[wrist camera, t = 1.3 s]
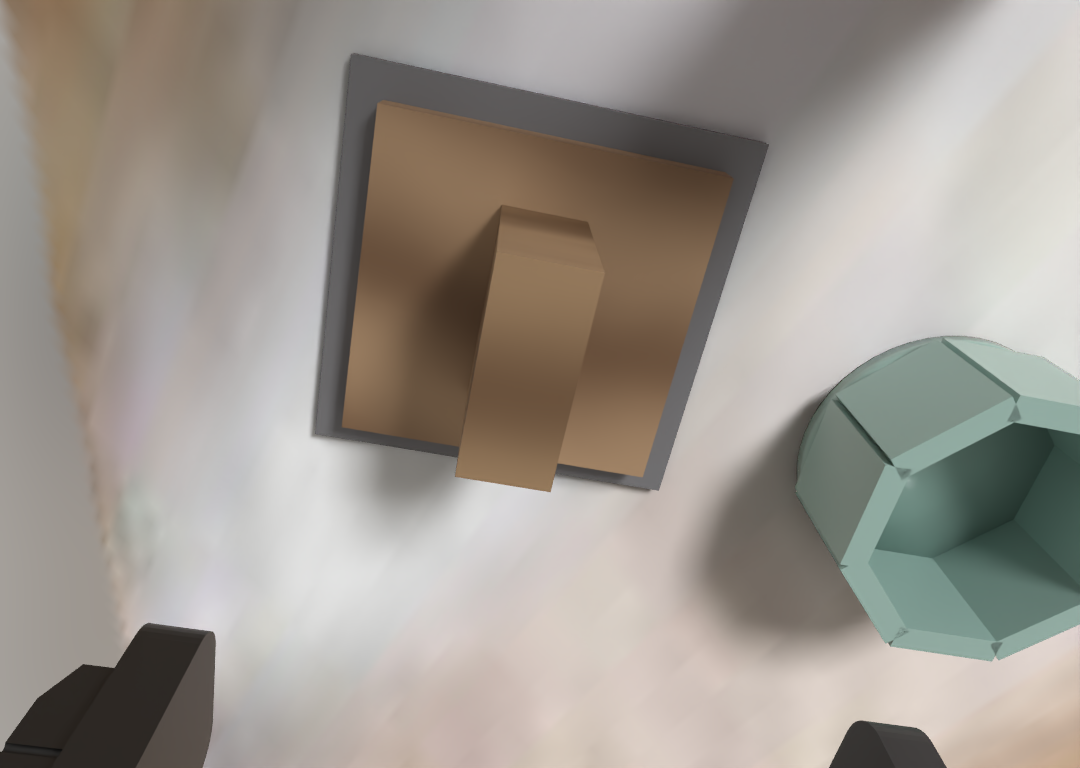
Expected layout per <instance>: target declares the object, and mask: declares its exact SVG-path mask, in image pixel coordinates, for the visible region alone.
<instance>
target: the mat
mask: <svg viewBox="0 0 1080 768" xmlns="http://www.w3.org/2000/svg"><path fill="white" fill-rule="evenodd" d="M382 100H387V101H391V102H396V103H401V104H406V105H410V106H415V107H420V108H424V109H429V110H434V111H439V112H443V113H448V114H453V115H457V116H462V117H467V118H472V119H476V120H481V121H486V122H490V123H495V124H500V125H505V126H509V127H514V128H519V129H523V130H528V131H533V132H538V133H542V134H547V135H552V136H556V137H561V138H566V139H571V140H575V141H580V142H585V143H589V144H594V145H599V146H604V147H608V148H613V149H618V150H622V151H627V152H632V153H637V154H641V155H646V156H651V157H655V158H660V159H665V160H670V161H674V162H679V163H684V164H688V165H693V166H698V167H703V168H707V169H712V170H717V171H721V172H726V173H727V174H728V175H730V176H731V177H732V178H734V180H733V183H732V186H731V190H730V193H729V196H728V200H727V203H726V206H725V209H724V213H723V216H722V219H721V222H720V226H719V229H718V232H717V236H716V239H715V242H714V245H713V249H712V252H711V255H710V258H709V262H708V265H707V268H706V272H705V275H704V278H703V281H702V285H701V288H700V291H699V295H698V298H697V301H696V304H695V308H694V311H693V314H692V317H691V321H690V324H689V327H688V331H687V334H686V337H685V340H684V344H683V347H682V350H681V353H680V357H679V360H678V363H677V367H676V370H675V373H674V376H673V380H672V383H671V386H670V389H669V393H668V396H667V399H666V403H665V406H664V409H663V412H662V416H661V419H660V422H659V426H658V429H657V432H656V435H655V439H654V442H653V445H652V448H651V452H650V455H649V458H648V462H647V465H646V468H645V471H644V475H643V477H637V476H631V475H625V474H619V473H613V472H607V471H601V470H595V469H589V468H583V467H578V466H572V465H566V464H560V463H557V468H556V472H555V474H561V475H567V476H573V477H579V478H585V479H591V480H598V481H604V482H610V483H616V484H622V485H628V486H634V487H640V488H646V489H652V490H658V491H659V488H660V485H661V482H662V479H663V476H664V472H665V469H666V466H667V463H668V460H669V457H670V454H671V450H672V447H673V444H674V441H675V438H676V435H677V432H678V428H679V425H680V422H681V419H682V416H683V413H684V410H685V406H686V403H687V400H688V397H689V394H690V391H691V388H692V385H693V381H694V378H695V375H696V372H697V369H698V366H699V363H700V359H701V356H702V353H703V350H704V347H705V344H706V341H707V337H708V334H709V331H710V328H711V325H712V322H713V319H714V315H715V312H716V309H717V306H718V303H719V300H720V297H721V293H722V290H723V287H724V284H725V281H726V278H727V275H728V271H729V268H730V265H731V262H732V259H733V256H734V253H735V249H736V246H737V243H738V240H739V237H740V234H741V231H742V227H743V224H744V221H745V218H746V215H747V212H748V209H749V205H750V202H751V199H752V196H753V193H754V190H755V187H756V183H757V180H758V177H759V174H760V171H761V168H762V165H763V161H764V158H765V155H766V152H767V149H768V146H769V144H766V143H764V142H759V141H755V140H750V139H745V138H741V137H736V136H732V135H727V134H723V133H718V132H713V131H709V130H704V129H700V128H695V127H690V126H686V125H681V124H677V123H672V122H667V121H663V120H658V119H654V118H649V117H644V116H640V115H635V114H631V113H626V112H621V111H617V110H612V109H608V108H603V107H598V106H594V105H589V104H585V103H580V102H575V101H571V100H566V99H562V98H557V97H552V96H548V95H543V94H539V93H534V92H529V91H525V90H520V89H516V88H511V87H507V86H502V85H497V84H493V83H488V82H484V81H479V80H474V79H470V78H465V77H461V76H456V75H451V74H447V73H442V72H438V71H433V70H428V69H424V68H419V67H415V66H410V65H405V64H401V63H396V62H392V61H387V60H382V59H378V58H373V57H369V56H364V55H359V54H355V53H353V54H351V60H350V71H349V82H348V92H347V103H346V113H345V124H344V135H343V145H342V156H341V166H340V177H339V188H338V198H337V209H336V219H335V230H334V241H333V251H332V262H331V272H330V283H329V294H328V304H327V315H326V325H325V336H324V347H323V357H322V368H321V378H320V389H319V400H318V410H317V421H316V431H315V434H319V435H325V436H331V437H337V438H344V439H350V440H356V441H362V442H368V443H374V444H380V445H386V446H392V447H398V448H404V449H410V450H416V451H422V452H428V453H434V454H440V455H446V456H452V457H458V453H459V447H458V446H452V445H446V444H440V443H434V442H428V441H422V440H416V439H410V438H404V437H398V436H392V435H386V434H380V433H374V432H368V431H362V430H356V429H350V428H344V427H342V420H343V411H344V402H345V393H346V384H347V375H348V365H349V356H350V347H351V338H352V329H353V320H354V311H355V302H356V293H357V284H358V275H359V266H360V257H361V248H362V238H363V229H364V220H365V211H366V202H367V193H368V184H369V175H370V166H371V157H372V148H373V139H374V130H375V121H376V112H377V103H379V102H380V101H382Z"/></svg>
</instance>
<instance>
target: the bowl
mask: <svg viewBox="0 0 1080 768" xmlns="http://www.w3.org/2000/svg"><path fill="white" fill-rule="evenodd" d="M797 480H798V481H797V484H796V486H795V489H796V490H797V492H795V493H796V495H797V497H798V498H799V500H800V502H801V504H802V505H803V507H804V509H805V510H806V512H807V514H808V516H809V517H810V519H811V521H812V522H813V524H814V526H815V528H816V529H817V531H818V533H819V534H820V536H821V538H822V540H823V541H824V543H825V545H826V546H827V548H828V550H829V552H830V553H831V555H832V557H833V558H834V560H835V562H836V564H837V565H838V567H839V569H840V570H841V572H842V574H843V575H844V577H845V578H846V580H847V582H848V583H849V585H850V587H851V588H852V590H853V592H854V593H855V595H856V596H857V598H858V600H859V601H860V603H861V605H862V606H863V608H864V609H865V611H866V613H867V614H868V616H869V618H870V619H871V621H872V622H873V624H874V626H875V627H876V629H877V631H878V632H879V634H880V635H881V637H882V639H883V640H884V642H885V644H886V643H889V645H890V646H891V647H898V648H905V649H912V650H918V651H925V652H932V653H939V654H945V655H952V656H959V657H965V658H972V659H979V660H986V661H992V660H993V659H994V657H995V656H996V658H997V659H998V660H1001V659H1003V658H1005V657H1007V656H1010V655H1012V654H1014V653H1016V652H1019V651H1021V650H1023V649H1025V648H1028V647H1030V646H1032V645H1034V644H1037V643H1039V642H1041V641H1043V640H1046V639H1048V638H1050V637H1052V636H1055V635H1057V634H1059V633H1061V632H1064V631H1066V630H1068V629H1070V628H1073V627H1075V626H1077V625H1079V624H1080V380H1079V379H1077V378H1075V377H1074V376H1072V375H1071V374H1069V373H1068V372H1066V371H1065V370H1063V369H1061V368H1060V367H1058V366H1057V365H1055V364H1054V363H1052V362H1050V361H1049V360H1047V359H1046V358H1044V357H1041V356H1036V355H1030V354H1025V353H1020V352H1015V351H1013V350H1012V349H1010V348H1008V347H1005V346H1003V345H1001V344H999V343H996V342H993V341H989V340H985V339H982V338H975V337H968V336H941V337H933V338H926V339H922V340H918V341H913V342H909V343H907V344H904V345H901V346H898V347H895V348H893V349H890V350H888V351H886V352H884V353H882V354H880V355H878V356H876V357H874V358H872V359H871V360H869V361H868V362H866V363H864V364H863V365H861V366H860V367H858V368H857V369H856V370H854V371H853V372H852V373H850V374H849V375H848V376H847V377H845V378H844V379H843V380H842V381H841V382H840V383H839V384H838V385H837V386H836V387H835V388H834V389H833V390H832V391H831V392H830V393H829V394H828V396H827V397H826V398H825V399H824V401H823V402H822V403H821V404H820V406H819V407H818V409H817V410H816V412H815V414H814V415H813V417H812V418H811V420H810V422H809V425H808V427H807V429H806V431H805V433H804V436H803V439H802V442H801V445H800V449H799V455H798V461H797Z"/></svg>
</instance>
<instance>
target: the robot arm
mask: <svg viewBox="0 0 1080 768" xmlns="http://www.w3.org/2000/svg"><path fill="white" fill-rule="evenodd" d="M215 647H216V640H215V635H214V633H213V632H211V631H204V630H196V629H189V628H181V627H174V626H166V625H159V624H151V623H147V624H145V625H144V626H142V628H141V629H140V630H139V631H138V632H137V634H136V635H135V637H134V638H133V640H132V641H131V643H130V645H129V646H128V648H127V649H126V651H125V652H124V654H123V656H122V657H121V659H120V660H119V662H118V663H117V665H116V667H115V668H109V667H101V666H92V665H85V664H83V665H82V666H80V667H79V668H78V669H76V670H75V671H74V672H72V673H71V674H70V675H69V676H67V677H66V678H64V679H63V680H62V681H60V682H59V683H58V684H56V685H55V686H53V687H52V688H51V689H50V690H48V691H47V692H46V693H44V694H43V695H41V696H40V697H39V698H37V700H36V701H35V702H34V704H33V705H32V707H31V708H30V709H29V711H28V712H27V713H26V715H25V716H24V718H23V719H22V720H21V722H20V723H19V725H18V726H17V727H16V729H15V730H14V731H13V733H12V734H11V736H10V737H9V738H8V740H7V741H6V743H5V747H4V749H3V751H2V752H0V768H202V767H203V764H204V761H205V758H206V754H207V750H208V746H209V742H210V737H211V731H212V723H213V699H214V673H215ZM829 768H947V767H946V766H945V764H944V762H943V761H942V759H941V757H940V755H939V754H938V752H937V750H936V749H935V747H934V745H933V743H932V742H931V740H930V739H929V737H928V736H927V735H926V734H925V733H924V732H922V731H921V730H919V729H917V728H913V727H905V726H898V725H890V724H883V723H875V722H868V721H857V722H855V723H853V724H852V725H851V727H850V728H849V730H848V731H847V733H846V735H845V737H844V739H843V741H842V743H841V745H840V747H839V749H838V751H837V753H836V755H835V757H834V759H833V761H832V763H831V765H830V767H829Z"/></svg>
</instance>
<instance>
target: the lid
mask: <svg viewBox="0 0 1080 768" xmlns="http://www.w3.org/2000/svg"><path fill="white" fill-rule="evenodd" d="M733 180H734V178H732V177H731V176H730V175H728V174H727V173H726V172H721V171H717V170H712V169H707V168H703V167H698V166H693V165H688V164H684V163H679V162H674V161H670V160H665V159H660V158H655V157H651V156H646V155H641V154H637V153H632V152H627V151H622V150H618V149H613V148H608V147H604V146H599V145H594V144H589V143H585V142H580V141H575V140H571V139H566V138H561V137H556V136H552V135H547V134H542V133H538V132H533V131H528V130H523V129H519V128H514V127H509V126H505V125H500V124H495V123H490V122H486V121H481V120H476V119H472V118H467V117H462V116H457V115H453V114H448V113H443V112H439V111H434V110H429V109H424V108H420V107H415V106H410V105H406V104H401V103H396V102H391V101H387V100H382V101H380V102H379V103H377V112H376V121H375V130H374V139H373V148H372V157H371V166H370V175H369V184H368V193H367V202H366V211H365V220H364V229H363V238H362V248H361V257H360V266H359V275H358V284H357V293H356V302H355V311H354V320H353V329H352V338H351V347H350V356H349V365H348V375H347V384H346V393H345V402H344V411H343V420H342V427H344V428H350V429H356V430H362V431H368V432H374V433H380V434H386V435H392V436H398V437H404V438H410V439H416V440H422V441H428V442H434V443H440V444H446V445H452V446H458V447H459V453H458V459H457V466H456V473H455V477H461V478H467V479H473V480H479V481H485V482H491V483H497V484H504V485H510V486H516V487H522V488H528V489H534V490H540V491H547V492H551V488H552V484H553V480H554V476H555V472H556V468H557V463H560V464H566V465H572V466H578V467H583V468H589V469H595V470H601V471H607V472H613V473H619V474H625V475H631V476H637V477H643V475H644V471H645V468H646V465H647V462H648V458H649V455H650V452H651V448H652V445H653V442H654V439H655V435H656V432H657V429H658V426H659V422H660V419H661V416H662V412H663V409H664V406H665V403H666V399H667V396H668V393H669V389H670V386H671V383H672V380H673V376H674V373H675V370H676V367H677V363H678V360H679V357H680V353H681V350H682V347H683V344H684V340H685V337H686V334H687V331H688V327H689V324H690V321H691V317H692V314H693V311H694V308H695V304H696V301H697V298H698V295H699V291H700V288H701V285H702V281H703V278H704V275H705V272H706V268H707V265H708V262H709V258H710V255H711V252H712V249H713V245H714V242H715V239H716V236H717V232H718V229H719V226H720V222H721V219H722V216H723V213H724V209H725V206H726V203H727V200H728V196H729V193H730V190H731V186H732V183H733Z"/></svg>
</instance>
